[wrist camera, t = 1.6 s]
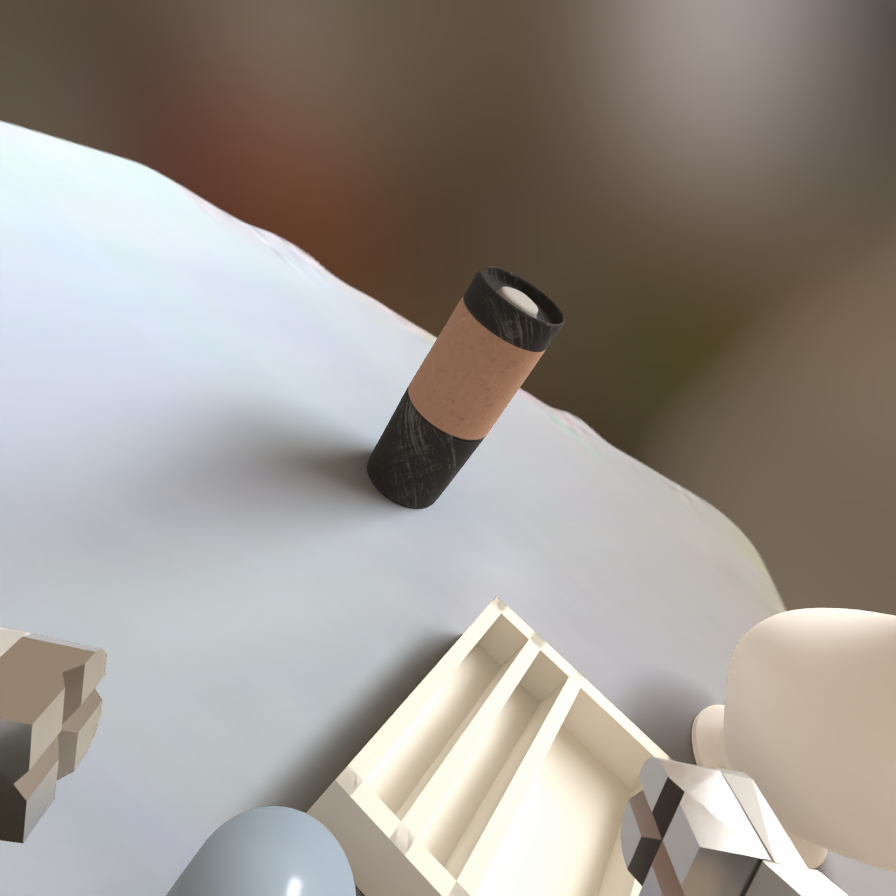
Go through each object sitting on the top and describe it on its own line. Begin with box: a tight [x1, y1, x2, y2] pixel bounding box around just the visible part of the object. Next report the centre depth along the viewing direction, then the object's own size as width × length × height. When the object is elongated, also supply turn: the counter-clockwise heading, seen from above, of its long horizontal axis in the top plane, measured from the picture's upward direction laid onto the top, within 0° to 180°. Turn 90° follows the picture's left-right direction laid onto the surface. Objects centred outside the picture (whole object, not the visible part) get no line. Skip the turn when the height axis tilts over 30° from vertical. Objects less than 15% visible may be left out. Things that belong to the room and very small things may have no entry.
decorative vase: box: [692, 608, 896, 872], centre depth 44 cm, size 18×18×25 cm
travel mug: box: [367, 266, 564, 509], centre depth 52 cm, size 8×8×20 cm
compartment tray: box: [306, 596, 673, 896], centre depth 36 cm, size 16×18×5 cm
